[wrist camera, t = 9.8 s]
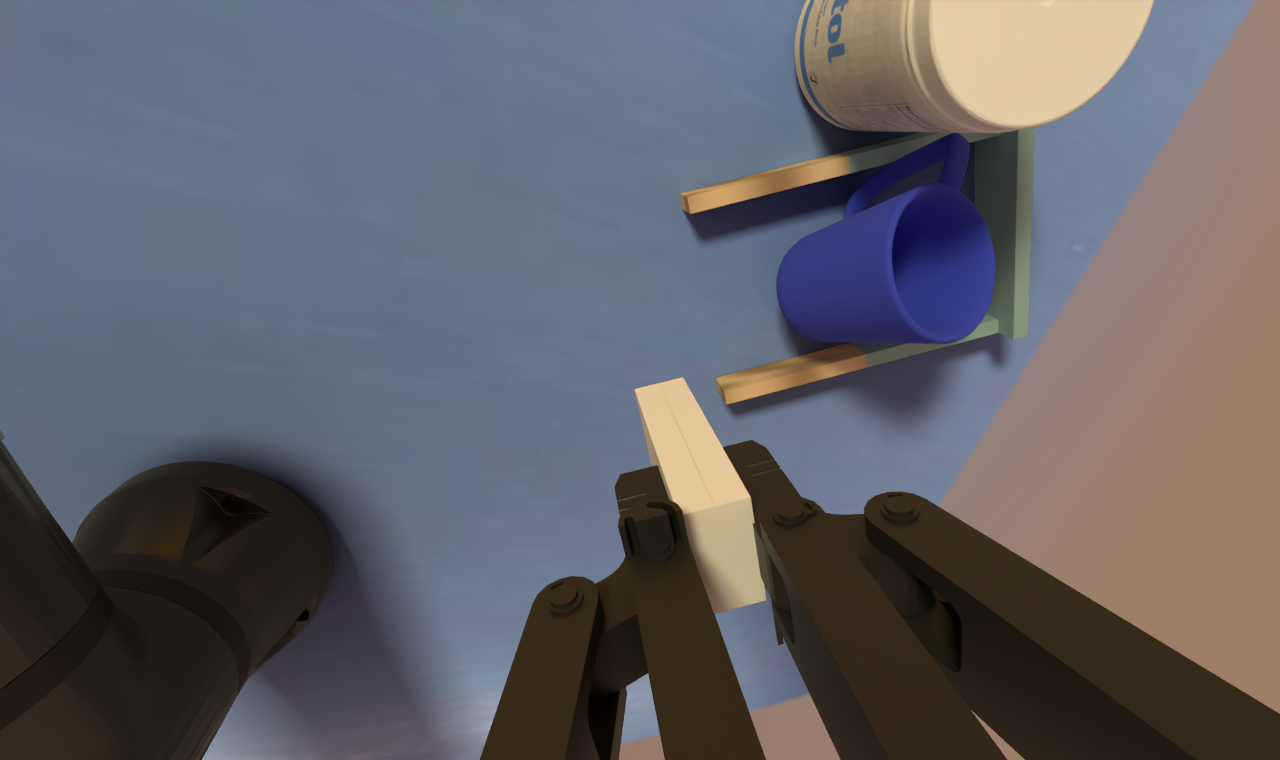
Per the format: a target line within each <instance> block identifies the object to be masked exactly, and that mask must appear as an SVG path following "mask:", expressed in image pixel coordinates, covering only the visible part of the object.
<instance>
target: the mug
mask: <svg viewBox="0 0 1280 760" xmlns="http://www.w3.org/2000/svg"><path fill="white" fill-rule="evenodd" d="M969 155H970V144H969V142H968V141H967V140H966V138H964V137H963V136H962V135H960V134H958V133H951V134H949V135H946V136H944V137H942V138H940V139H938V140H936V141H934V142H932V143H930V144H927V145H925V146H923V147H921V148H919V149H917V150H915V151H913V152H911V153H909V154H907V155H905V156H904V157H902V158H900V159H898V160H897V161H895V162H893V163H891V164H890V165H888V166H886V167H884V168H883V169H881V170H880V171H878V172H877V173H875V174H874V175H872V176H871V177H869V178H868V179H867V180H866V181H865V182H863V183H862V184H861V185H860V186H859V187H858V188H857V189H856V190H855V192H854V193H853V194H852V196H851V197H850V199H849V201H848V203H847V205H846V208H845V211H844V220H842V221H839V222H837V223H835V224H832V225H830V226H828V227H826V228H823V229H821V230H819V231H817V232H814V233H812V234H810V235H808V236H806V237H804V238H803V239H801V240H800V241H798V242H797V243H796V244H795V245H794V246H793V247H792V248H791V249H790V250H789V251H788V252H787V254H786V255H785V257H784V258H783V260H782V262H781V265H780V268H779V271H778V275H777V297H778V301H779V305H780V308H781V311H782V313H783V315H784V316H785V318H786V319H787V321H788V322H789V324H790V325H791V326H792V327H793V328H794V329H795V330H796V331H798V332H799V333H800V334H802V335H804V336H806V337H808V338H811V339H814V340H818V341H825V342H864V343H915V344H949V343H954V342H957V341H959V340H962V339H963V338H965V337H967V336H968V335H969V334H971V333H972V332H973V331H974V330H975V329H976V328H977V327H978V325H979V324H980V323H981V321H982V320H983V318H984V316H985V315H986V312H987V310H988V308H989V305H990V302H991V299H992V295H993V291H994V284H995V255H994V249H993V244H992V240H991V237H990V233H989V230H988V228H987V225H986V223H985V221H984V219H983V217H982V215H981V213H980V212H979V210H978V209H977V208H976V206H975V205H974V204H973V202H972V201H971V200H970V199H969V198H968V197H967V196H966V195H964V194H963V193H962V192H960V191H959V190H960V188H961V186H962V184H963V181H964V178H965V174H966V170H967V166H968V161H969ZM943 160H945V163H944V167H943V171H942V174H941V176H940V178H939V181H938V182H937V183H930V184H924V185H921V186H918V187H916V188H914V189H912V190H909V191H907V192H905V193H903V194H900V195H898V196H896V197H893V198H891V199H889V200H887V201H884V202H882V203H880V204H878V205H875V206H873V207H871V208H869V209H866V210H865V208H866V207H867V205H868V204H869V203H870V202H871V201H872V200H873V199H874V198H875V197H876V196H877V195H878V194H879V193H881V192H882V191H883V190H885V189H886V188H888V187H890V186H891V185H893V184H895V183H896V182H898V181H900V180H902V179H904V178H906V177H908V176H910V175H912V174H914V173H916V172H918V171H920V170H922V169H925V168H927V167H929V166H931V165H933V164H936V163H938V162H940V161H943Z"/></svg>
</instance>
